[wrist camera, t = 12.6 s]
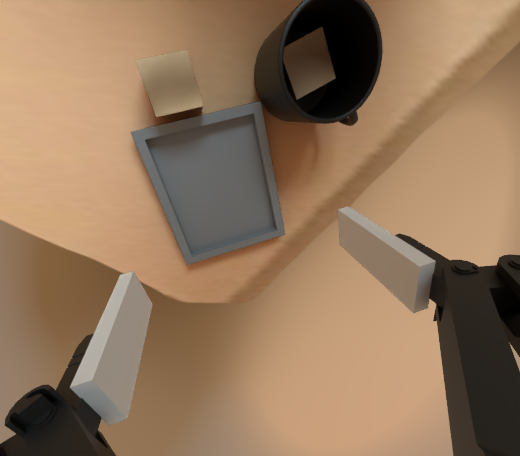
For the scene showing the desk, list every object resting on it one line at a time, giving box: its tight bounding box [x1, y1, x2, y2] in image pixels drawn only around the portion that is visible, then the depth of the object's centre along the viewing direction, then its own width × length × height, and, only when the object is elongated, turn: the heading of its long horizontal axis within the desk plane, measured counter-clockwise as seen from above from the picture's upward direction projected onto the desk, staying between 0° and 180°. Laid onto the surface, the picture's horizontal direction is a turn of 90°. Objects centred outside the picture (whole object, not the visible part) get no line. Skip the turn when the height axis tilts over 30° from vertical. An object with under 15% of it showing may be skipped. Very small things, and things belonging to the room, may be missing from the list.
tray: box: [131, 101, 285, 265], centre depth 31 cm, size 17×14×2 cm
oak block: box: [135, 50, 203, 117], centre depth 24 cm, size 4×4×4 cm
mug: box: [255, 0, 382, 126], centre depth 25 cm, size 9×12×9 cm
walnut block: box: [283, 27, 336, 100], centre depth 26 cm, size 4×4×4 cm
